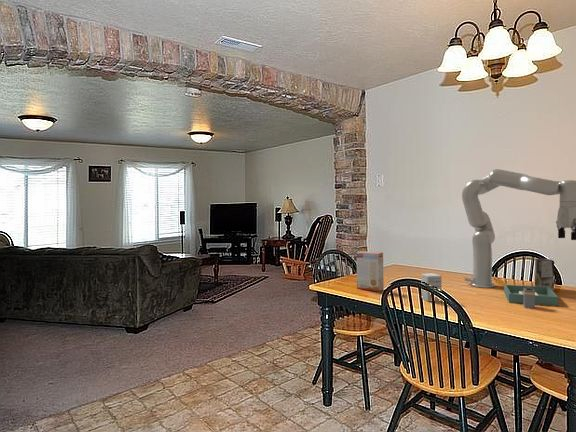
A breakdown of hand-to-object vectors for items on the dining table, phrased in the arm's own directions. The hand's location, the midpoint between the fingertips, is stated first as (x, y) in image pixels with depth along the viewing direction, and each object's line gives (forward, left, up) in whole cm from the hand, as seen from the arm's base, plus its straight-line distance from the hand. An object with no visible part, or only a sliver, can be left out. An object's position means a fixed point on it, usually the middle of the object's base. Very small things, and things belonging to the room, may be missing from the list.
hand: (568, 238), depth 206 cm
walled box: (-19, -15, -28) cm, 37 cm away
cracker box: (-96, -18, -29) cm, 102 cm away
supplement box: (-63, -32, -29) cm, 77 cm away
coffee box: (-8, +10, -28) cm, 31 cm away
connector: (-21, -32, -28) cm, 48 cm away
